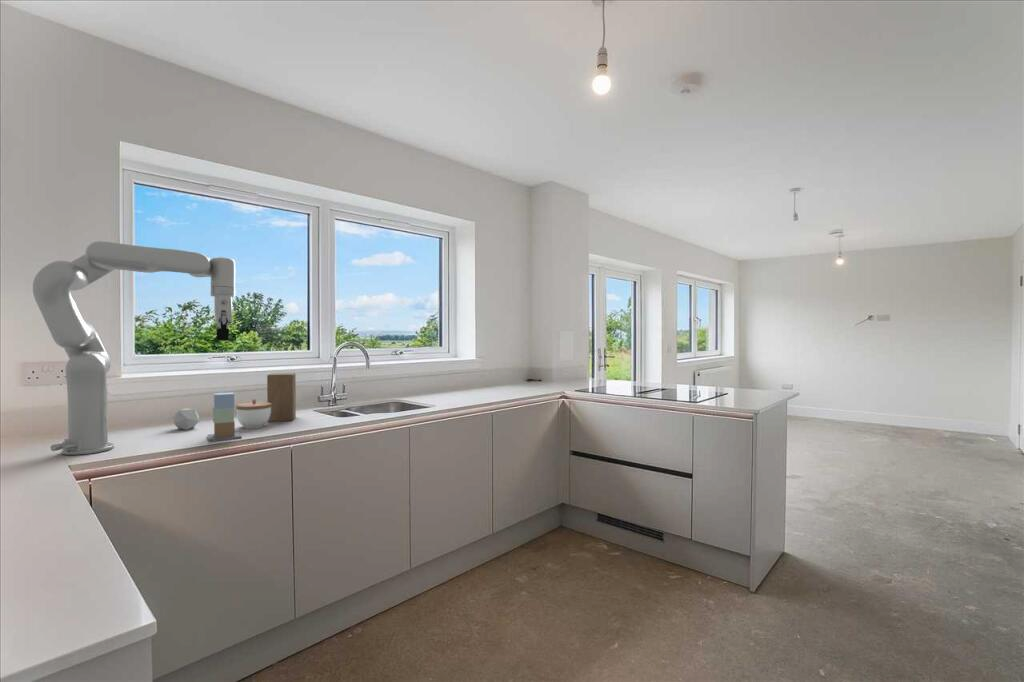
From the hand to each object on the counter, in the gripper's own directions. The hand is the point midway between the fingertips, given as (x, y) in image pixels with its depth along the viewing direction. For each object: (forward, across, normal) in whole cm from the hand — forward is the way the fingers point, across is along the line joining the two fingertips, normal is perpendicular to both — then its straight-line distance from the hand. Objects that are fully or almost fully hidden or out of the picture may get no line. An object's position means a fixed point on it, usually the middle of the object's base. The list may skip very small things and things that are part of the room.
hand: (222, 340), depth 177 cm
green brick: (+29, 0, 0) cm, 29 cm away
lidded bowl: (+35, +17, -12) cm, 41 cm away
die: (+35, +27, +10) cm, 46 cm away
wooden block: (+35, +29, -24) cm, 51 cm away
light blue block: (+24, 0, -1) cm, 24 cm away
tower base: (+35, 0, -1) cm, 35 cm away
